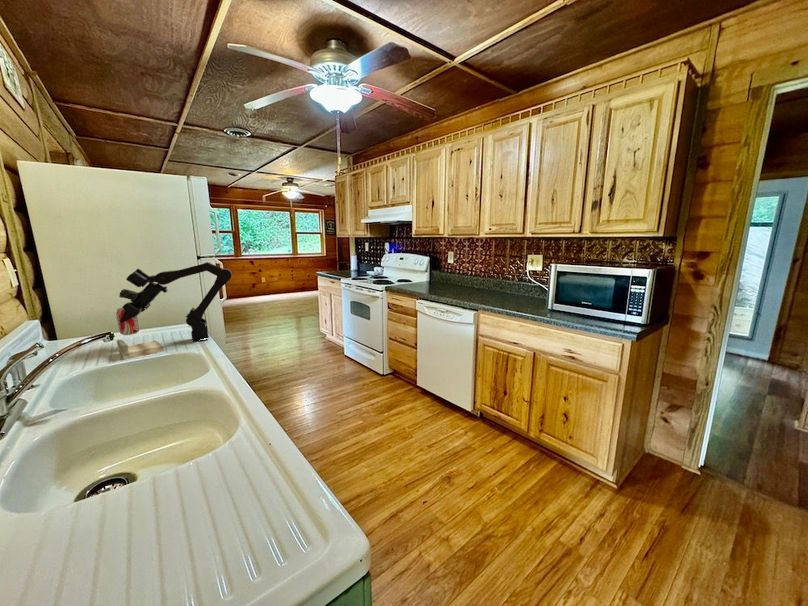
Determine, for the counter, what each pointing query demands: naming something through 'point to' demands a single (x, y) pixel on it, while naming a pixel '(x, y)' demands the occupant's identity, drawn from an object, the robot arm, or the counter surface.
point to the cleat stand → (138, 349)
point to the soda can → (127, 324)
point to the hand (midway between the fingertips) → (123, 320)
